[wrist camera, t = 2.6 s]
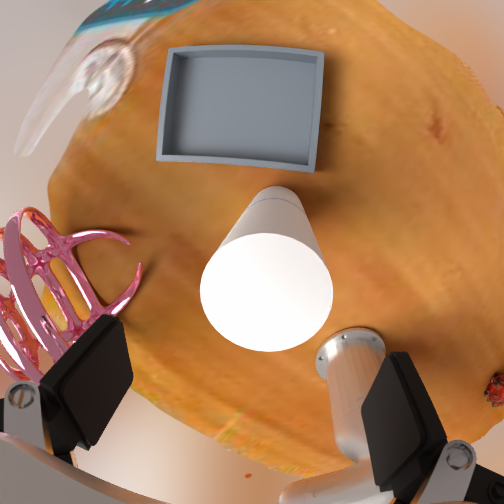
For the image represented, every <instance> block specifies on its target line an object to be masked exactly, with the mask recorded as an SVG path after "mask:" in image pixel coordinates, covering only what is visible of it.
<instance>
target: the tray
mask: <svg viewBox="0 0 504 504" xmlns="http://www.w3.org/2000/svg"><path fill="white" fill-rule="evenodd" d="M323 69H324V52H320V51H313V50H306V49H298V48H288V47H277V46H262V45H201V46H186V47H175V48H169V49H168V55H167V61H166V67H165V74H164V81H163V89H162V97H161V106H160V115H159V126H158V138H157V152H156V161H176V162H201V163H218V164H232V165H245V166H256V167H266V168H275V169H284V170H293V171H300V172H308V173H314V171H315V163H316V153H317V144H318V133H319V123H320V111H321V99H322V85H323Z"/></svg>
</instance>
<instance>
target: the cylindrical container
mask: <svg viewBox="0 0 504 504" xmlns="http://www.w3.org/2000/svg"><path fill="white" fill-rule="evenodd" d="M200 294H201V302H202V306H203V309H204V312H205V314H206V316H207V317H208V319H209V321H210V323H211V324H212V325H213V326H214V328H215V329H216V330H217V331H218V332H219V333H220V334H222V335H223V336H224V337H225V338H227V339H228V340H230V341H231V342H233V343H235V344H237V345H240V346H242V347H244V348H248V349H252V350H256V351H269V352H270V351H280V350H285V349H288V348H292V347H295V346H297V345H299V344H301V343H303V342H305V341H306V340H308V339H309V338H311V337H312V336H313V335H314V334H315V333H316V332H317V331H318V330H319V329H320V328H321V327H322V325H323V324H324V322H325V321H326V319H327V317H328V315H329V312H330V310H331V307H332V300H333V286H332V281H331V278H330V275H329V272H328V269H327V266H326V264H325V261H324V258H323V256H322V253H321V250H320V248H319V245H318V243H317V240H316V238H315V235H314V233H313V230H312V228H311V225H310V223H309V221H308V218H307V216H306V213H305V211H304V209H303V206H302V204H301V202H300V200H299V198H298V196H297V195H296V194H295V193H294V192H293V191H291V190H290V189H288V188H286V187H282V186H271V187H267V188H265V189H263V190H261V191H260V192H259V193H258V194H257V195H256V196H255V198H254V199H253V200H252V202H251V203H250V204H249V206H248V207H247V209H246V210H245V211H244V213H243V214H242V216H241V217H240V218H239V220H238V221H237V222H236V224H235V225H234V227H233V228H232V230H231V231H230V232H229V234H228V235H227V237H226V238H225V239H224V241H223V242H222V244H221V245H220V246H219V248H218V249H217V251H216V252H215V254H214V255H213V256H212V258H211V259H210V261H209V262H208V264H207V265H206V268H205V270H204V273H203V275H202V279H201V285H200Z"/></svg>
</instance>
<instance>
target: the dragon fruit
mask: <svg viewBox="0 0 504 504" xmlns="http://www.w3.org/2000/svg"><path fill="white" fill-rule="evenodd" d="M490 383H492V384H490V385H488V387H487V389H486V390H485V392H484V397H485V396H486V395H487V394H489V395H488V397H487V401H488V402H492V407H496V406H503V405H504V374H499V373H495V376H494V377H492V379H491V380H490Z"/></svg>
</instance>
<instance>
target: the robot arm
mask: <svg viewBox="0 0 504 504" xmlns="http://www.w3.org/2000/svg"><path fill="white" fill-rule="evenodd" d="M385 355H386V348H385V344H384V342H383V340H382V338H381V337H380V335H379V334H377V333H376V332H375V331H373V330H371V329H367V328H359V327H356V328H349V329H345V330H342V331H340V332H337V333H335V334H334V335H332V336H330V337H329V338H328V339H327V340H325V341H324V343H323V344H322V345H321V346H320V348H319V349H318V351H317V354H316V359H315V363H316V369H317V372H318V374H319V375H320V376H321V377H322V378H323V379H324V380H326V381H327V383H328V390H329V397H330V404H331V412H332V420H333V428H334V437H335V442H336V445H337V447H338V449H339V450H340V451H341V452H342V453H343V454H344V455H345V456H346V457H348V458H349V459H351V460H352V461H354V462H356V463H357V464H355V465H353V466H350V467H348V468H345V469H342V470H339V471H335V472H331V473H328V474H324V475H319V476H315V477H311V478H307V479H303V480H299V481H296V482H293V483H291V484H290V485H288V486H287V487H286V488H285V489H284V490H283V491H282V493H281V495H280V497H279V503H278V504H504V476H502V475H500V474H497V473H495V472H493V471H491V470H489V469H487V468H484V467H482V466H480V465H478V464H476V452H475V451H474V449H473V447H472V446H471V445H470V444H469V443H467V442H465V441H462V440H453V441H450V442H449V443H448V442H447V439H446V438H447V436H446V433H445V431H444V428H443V426H442V424H441V421H440V419H439V417H438V415H437V412H436V410H435V408H434V406H433V403H432V401H431V399H430V397H429V395H428V393H427V391H426V388H425V386H424V384H423V382H422V380H421V378H420V376H419V374H418V372H417V370H416V368H415V366H414V364H413V362H412V360H411V358H410V356H409V354H408V353H407V352H391V353H390V354H389V356H385ZM132 381H133V371H132V367H131V362H130V358H129V353H128V348H127V343H126V338H125V333H124V327H123V323H122V322H120V320H119V318H118V317H116V316H112V315H108V314H102V315H101V316H100V317H99V318H98V319H97V320H96V321H95V322H94V323H93V324H92V325H91V326H90V327H89V328H88V329H87V330H86V331H85V332H84V333H83V334H82V335H81V336H80V337H79V338H78V339H77V341H76V342H75V343H74V344H73V345H72V346H71V347H70V348H69V349H68V350H67V351H66V352H65V353H64V354H63V355H62V357H61V358H60V359H59V360H58V361H57V362H56V363H55V364H54V365H53V366H52V367H51V369H50V370H49V371H48V372H47V373H46V374H45V375H44V376H43V378H42V379H41V380H40V381H39V382H40V385H39V386H38V387H37V386H36V385H35V384H34V383H32V382H30V381H18V382H16V383H14V384H12V385H11V386H10V387H9V388H8V389H7V391H6V393H5V398H3V399H0V504H169V503H166V502H162V501H159V500H156V499H152V498H149V497H146V496H143V495H140V494H137V493H134V492H132V491H129V490H126V489H124V488H121V487H118V486H116V485H113V484H111V483H109V482H106V481H104V480H102V479H100V478H97V477H95V476H93V475H91V474H89V473H86V472H84V471H82V470H80V469H78V465H77V462H76V458H75V454H74V451H73V450H74V448H75V447H76V445H77V446H79V447H81V448H83V449H85V450H88V451H89V449H90V447H91V446H94V445H95V444H97V442H98V440H99V438H100V437H101V435H102V433H103V431H104V430H105V428H106V426H107V424H108V423H109V421H110V419H111V417H112V416H113V414H114V412H115V410H116V409H117V407H118V405H119V404H120V402H121V400H122V398H123V397H124V395H125V394H126V392H127V390H128V389H129V387H130V385H131V384H132Z"/></svg>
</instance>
